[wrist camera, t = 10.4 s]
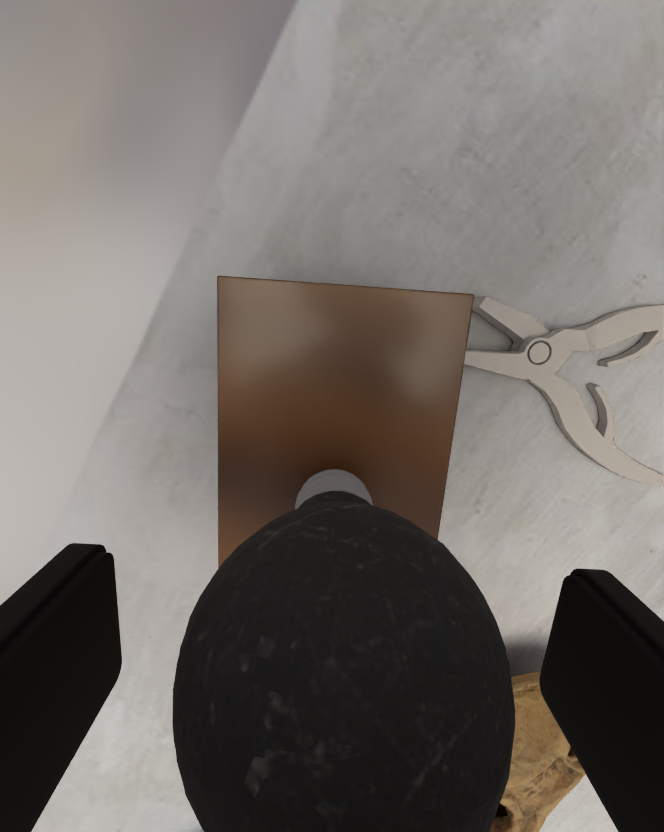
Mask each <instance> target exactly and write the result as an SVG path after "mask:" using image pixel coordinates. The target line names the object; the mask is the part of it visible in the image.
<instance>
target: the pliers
mask: <svg viewBox="0 0 664 832" xmlns="http://www.w3.org/2000/svg"><path fill="white" fill-rule="evenodd" d="M472 310H473V311H474V312H476V313H477V314H479V315H480V316H481V317H483V318H484V319H486V320H487V321H488V322H490V323H491V324H492V325H494V326H495V327H497V328H498V329H499V330H501V331H502V332H504V333H505V334H506V335H508V336H509V337H510V338H511V339H512V341H513V344H512V346H511V351H490V350H471V349H466V353H465V359H464V364H466V365H470V366H474V367H477V368H481V369H485V370H489V371H492V372H496V373H500V374H504V375H507V376H511V377H515V378H518V379H525V380H526V381H528V382H529V383H531V384H532V385H534V386H535V387H537V388H538V389H539V390H540V392H541V393H542V394H543V396H544V397H545V398H546V400H547V401H548V403H549V404H550V406H551V409H552V411H553V414H554V417H555V419H556V422H557V424H558V426H559V427H560V429H561V430H562V431H563V433H564V434H565V436H566V437H567V438H568V439H569V440H570V441H571V442H572V443H573V444H574V445H575V446H576V447H577V448H578V449H579V450H580V451H582V452H583V453H584V454H585V455H587V456H588V457H589V458H591V459H592V460H594V461H595V462H597V463H598V464H600V465H601V466H603V467H605V468H607V469H609V470H611V471H613V472H615V473H617V474H619V475H621V476H623V477H626V478H629V479H632V480H634V481H637V482H641V483H646V484H650V485H656V486H663V487H664V475H661V474H659V473H657V472H654V471H652V470H650V469H648V468H646V467H645V466H643V465H641V464H639V463H637V462H635V461H634V460H632V459H631V458H629V457H628V456H626V455H625V454H624V453H622V452H621V451H620V450H618V449H617V448H616V447H615V446H614V441H613V430H614V419H613V413H612V407H611V405H610V403H609V401H608V399H607V397H606V395H605V394H604V392H603V391H602V389H601V388H600V386H599V385H596V384H593V383H589V384H588V385H587V387H588V389H589V391H590V392H591V394H592V395H593V397H594V399H595V401H596V404H597V406H598V412H599V423H598V427H597V429H596V428H595V427H594V425H593V423H592V421H591V418H590V416H589V414H588V412H587V410H586V408H585V405H584V403H583V400H582V398H581V396H580V393H579V391H578V390H577V389H575V388H574V387H573V386H571V385H570V384H568V383H567V382H566V381H564V380H563V379H561V378H560V377H559V376H557V375H556V374H555V373H556V372H557V371H558V370H559V368H560V367H561V366H562V365H563V364H564V363H565V361H566V360H567V359H568V358H569V357H570V355H571V354H572V353H573V352H574V351H598V350H601V349H603V348H605V347H608V346H610V345H612V344H615V343H617V342H619V341H622V340H624V339H627V338H629V337H632V336H635V335H637V334H640V333H643V332H646V334H645V335H644V336H643V338H642V339H641V340H640V341H639V343H638V344H636V345H635V346H633V347H632V348H631V349H629V350H628V351H626V352H625V353H622V354H620V355H617V356H614V357H612V358H608V359H604V360H600V361H599V366H605V367H610V366H614V365H618V364H622V363H625V362H628V361H631V360H633V359H636V358H638V357H640V356H641V355H643V354H644V353H646V352H648V351H649V350H651V349H652V348H653V347H654V346H655V345H657V344H658V343H659V342H660V341H661V340H662V339H663V338H664V305H654V306H641V307H632V308H628V309H624V310H620V311H616V312H612V313H609V314H607V315H605V316H603V317H601V318H599V319H597V320H595V321H593V322H591V323H589V324H585V325H581V326H577V327H573V328H569V329H555V330H553V331H552V332H551V331H550V330H548V329H547V328H546V327H544V326H543V325H542V324H540V323H539V322H538V321H537V320H538V319H539V318H536V317H534V316H532V315H529V314H527V313H525V312H522V311H520V310H518V309H515V308H513V307H510V306H508V305H506V304H503V303H501V302H499V301H496V300H494V299H492V298H489V297H487V296H486V297H477V298H475V299H474V301H473V306H472Z"/></svg>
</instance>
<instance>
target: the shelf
mask: <svg viewBox="0 0 664 832" xmlns="http://www.w3.org/2000/svg"><path fill="white" fill-rule="evenodd" d="M473 299H474V295H473V294H464V293H451V292H437V291H423V290H409V289H395V288H381V287H368V286H354V285H340V284H326V283H312V282H298V281H284V280H271V279H257V278H243V277H229V276H218V277H217V317H218V568H219V567H220V566H221V565H222V563H223V562H224V561H225V560H226V559H227V558H228V557H229V556H230V555H231V553H232V552H233V551H234V550H235V549H236V548H237V547H238V546H239V545H240V544H242V543H243V542H244V541H245V540H247V539H248V538H249V537H250V536H252V535H253V534H254V533H256V532H257V531H258V530H260V529H261V528H262V527H264V526H265V525H266V524H268V523H269V522H270V521H272V520H273V519H276V518H278V517H280V516H282V515H284V514H286V513H288V512H290V511H292V510H295V504H296V500H297V496H298V494H299V492H300V490H301V489H302V487H303V485H304V484H305V483H306V481H307V480H308V479H309V478H310V477H312V476H313V475H315V474H317V473H320V472H322V471H325V470H333V469H337V470H344V471H346V472H349V473H351V474H353V475H355V476H356V477H357V478H358V479H360V480H361V482H362V483H363V484H364V485H365V487H366V489H367V491H368V493H369V495H370V497H371V499H372V504H373V506H376V507H380V508H383V509H386V510H389V511H392V512H394V513H396V514H398V515H399V516H401V517H402V518H405V519H407V520H410V521H411V522H413V523H414V524H415V525H417V526H418V527H420V528H421V529H422V530H424V531H425V532H427V533H428V534H430V535H431V536H433V537H434V538H435V539H437V540H438V533H439V526H440V520H441V513H442V506H443V500H444V493H445V486H446V480H447V473H448V466H449V460H450V453H451V446H452V439H453V433H454V426H455V419H456V413H457V406H458V399H459V393H460V386H461V379H462V373H463V366H464V359H465V353H466V346H467V339H468V333H469V326H470V319H471V313H472V306H473Z"/></svg>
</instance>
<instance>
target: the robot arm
mask: <svg viewBox="0 0 664 832" xmlns="http://www.w3.org/2000/svg"><path fill="white" fill-rule="evenodd" d="M121 664H122V656H121V643H120V631H119V618H118V606H117V593H116V580H115V568H114V558H113V555H112V554H111V553H106V549H105V547H104V546H102V545H97V544H77V543H73V544H69V545H68V546H66V547H65V548H64V549H63V550H62V551H61V552H59V553H58V554H57V555H56V556H55V557H54V558H53V559H52V560H51V561H49V562H48V563H47V564H46V565H45V566H44V567H43V568H42V569H41V570H39V571H38V572H37V573H36V574H35V575H34V576H33V577H32V578H31V579H29V580H28V581H27V582H26V583H25V584H24V585H23V586H22V587H21V588H19V589H18V590H17V591H16V592H15V593H14V594H13V595H12V596H11V597H10V598H8V599H7V600H6V601H5V602H4V603H3V604H2V605H0V832H31V831H32V829H33V827H34V826H35V824H36V822H37V820H38V819H39V817H40V815H41V813H42V811H43V810H44V808H45V806H46V804H47V803H48V801H49V799H50V797H51V796H52V794H53V792H54V790H55V789H56V787H57V785H58V783H59V782H60V780H61V778H62V776H63V775H64V773H65V771H66V769H67V768H68V766H69V764H70V762H71V760H72V759H73V757H74V755H75V753H76V752H77V750H78V748H79V746H80V745H81V743H82V741H83V739H84V738H85V736H86V734H87V732H88V731H89V729H90V727H91V725H92V724H93V722H94V720H95V718H96V717H97V715H98V713H99V711H100V709H101V708H102V706H103V704H104V702H105V701H106V699H107V697H108V695H109V694H110V692H111V690H112V688H113V687H114V685H115V683H116V681H117V679H118V676H119V674H120V670H121ZM539 685H540V690H541V694H542V696H543V698H544V701H545V702H546V704H547V706H548V708H549V709H550V711H551V713H552V715H553V717H554V718H555V720H556V722H557V724H558V725H559V727H560V729H561V731H562V732H563V734H564V736H565V738H566V740H567V741H568V743H569V745H570V747H571V748H572V750H573V752H574V754H575V755H576V757H577V759H578V761H579V763H580V764H581V766H582V768H583V770H584V771H585V773H586V775H587V777H588V778H589V780H590V782H591V784H592V786H593V787H594V789H595V791H596V793H597V794H598V796H599V798H600V800H601V801H602V803H603V805H604V807H605V809H606V810H607V812H608V814H609V816H610V817H611V819H612V821H613V823H614V824H615V826H616V828H617V830H618V832H664V621H663V620H661V619H660V618H659V617H658V616H657V615H656V614H655V613H654V612H653V611H652V610H650V609H649V608H648V607H647V606H646V605H645V604H644V603H643V602H642V601H641V600H639V599H638V598H637V597H636V596H635V595H634V594H633V593H632V592H631V591H630V590H629V589H627V588H626V587H625V586H624V585H623V584H622V583H621V582H620V581H619V580H618V579H616V578H615V577H614V576H613V575H612V574H611V573H609V572H608V571H605V570H594V569H575V570H573V571H572V572H571V574H570V576H566V577H565V578H564V581H563V584H562V588H561V592H560V596H559V600H558V604H557V608H556V612H555V616H554V620H553V624H552V628H551V633H550V637H549V641H548V645H547V649H546V653H545V657H544V661H543V665H542V669H541V673H540V678H539Z"/></svg>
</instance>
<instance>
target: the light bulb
mask: <svg viewBox="0 0 664 832" xmlns="http://www.w3.org/2000/svg"><path fill="white" fill-rule="evenodd" d="M515 724H516V722H515V704H514V696H513V687H512V680H511V673H510V665H509V661H508V658H507V655H506V649H505V646H504V643H503V640H502V637H501V634H500V631H499V628H498V625H497V622H496V620H495V618H494V616H493V614H492V612H491V610H490V608H489V606H488V604H487V602H486V599H485V597H484V596H483V594H482V593H481V591H480V589H479V588H478V586H477V585H476V583H475V582H474V580H473V579H472V578H471V576H470V575H469V573H468V572H467V571H466V570H465V569H464V568H463V566H462V565H461V564H460V563H459V562H458V561H457V559H456V558H455V557H454V556H453V555H452V554H451V553H450V551H449V550H448V549H447V548H446V547H445V546H444V545H443V543H441V542H440V541H438V540H437V539H435V538H434V537H433V536H431V535H430V534H428V533H427V532H425V531H424V530H422V529H421V528H420V527H418V526H417V525H415V524H414V523H413V522H411V521H410V520H407V519H405V518H402V517H401V516H399V515H398V514H396V513H394V512H392V511H389V510H386V509H383V508H380V507H376V506H373V504H372V499H371V497H370V495H369V493H368V491H367V489H366V487H365V485H364V484H363V483H362V482H361V480H360V479H358V478H357V477H356V476H355V475H353V474H351V473H349V472H346V471H344V470H337V469H333V470H325V471H322V472H320V473H317V474H315V475H313V476H312V477H310V478H309V479H308V480H307V481H306V483H305V484H304V485H303V487H302V489H301V490H300V492H299V494H298V496H297V500H296V504H295V510H292V511H290V512H288V513H286V514H284V515H282V516H280V517H278V518H276V519H273V520H272V521H270V522H269V523H268V524H266V525H265V526H264V527H262V528H261V529H260V530H258V531H257V532H256V533H254V534H253V535H252V536H250V537H249V538H248V539H247V540H245V541H244V542H243V543H242V544H240V545H239V546H238V547H237V548H236V549H235V550H234V551H233V552H232V553H231V555H230V556H229V557H228V558H227V559H226V560H225V561H224V562H223V563H222V565H221V566H220V567H219V569H218V570H217V572H216V573H215V575H214V576H213V578H212V579H211V581H210V582H209V584H208V585H207V587H206V588H205V590H204V591H203V593H202V594H201V596H200V598H199V600H198V602H197V604H196V606H195V608H194V610H193V612H192V614H191V616H190V618H189V622H188V626H187V629H186V633H185V636H184V639H183V642H182V645H181V648H180V654H179V658H178V662H177V668H176V675H175V681H174V688H173V734H174V743H175V748H176V756H177V763H178V767H179V770H180V774H181V777H182V781H183V785H184V789H185V794H186V796H187V798H188V801H189V803H190V805H191V807H192V809H193V811H194V813H195V815H196V817H197V819H198V821H199V823H200V825H201V827H202V829H203V830H204V832H489V831H490V829H491V826H492V823H493V820H494V818H495V815H496V812H497V809H498V807H499V804H500V801H501V799H502V796H503V794H504V791H505V788H506V785H507V782H508V779H509V774H510V765H511V757H512V749H513V740H514V732H515Z"/></svg>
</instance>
